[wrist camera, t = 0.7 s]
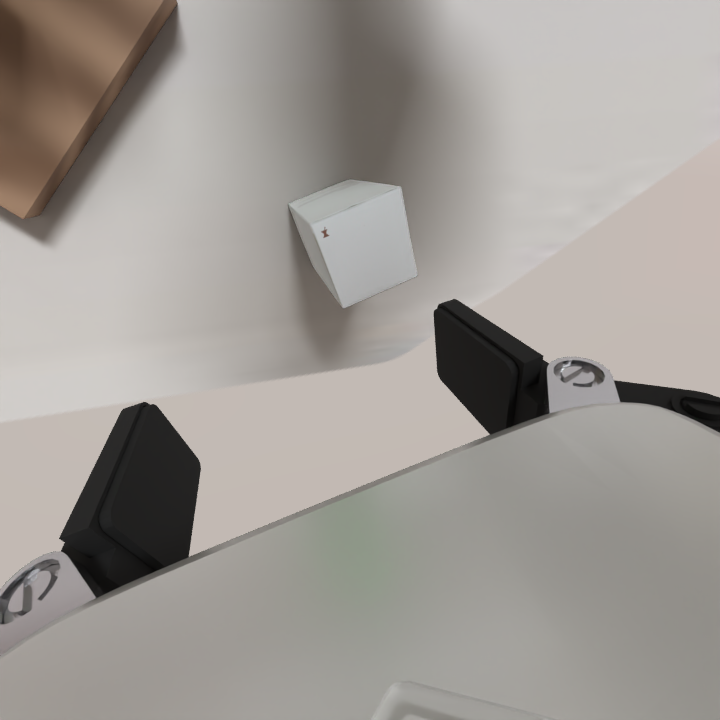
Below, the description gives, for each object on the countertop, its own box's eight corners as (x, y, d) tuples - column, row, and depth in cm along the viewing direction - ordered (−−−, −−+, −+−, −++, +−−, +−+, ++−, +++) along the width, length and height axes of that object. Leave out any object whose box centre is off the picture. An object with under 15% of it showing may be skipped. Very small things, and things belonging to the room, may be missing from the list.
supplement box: (313, 270, 36) (340, 312, 26) (286, 202, 32) (306, 221, 22) (371, 246, 37) (420, 278, 27) (352, 176, 33) (402, 182, 22)
